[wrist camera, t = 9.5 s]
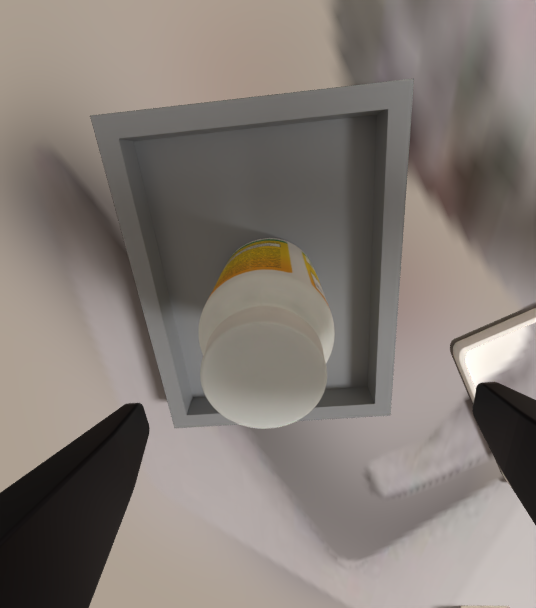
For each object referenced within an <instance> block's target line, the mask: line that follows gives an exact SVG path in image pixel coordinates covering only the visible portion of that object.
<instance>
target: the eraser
mask: <svg viewBox="0 0 536 608" xmlns="http://www.w3.org/2000/svg"><path fill="white" fill-rule="evenodd" d="M460 608H510V607H509V606H461V607H460Z"/></svg>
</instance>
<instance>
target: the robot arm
mask: <svg viewBox="0 0 536 608" xmlns="http://www.w3.org/2000/svg"><path fill="white" fill-rule="evenodd" d="M473 415H474V417H475V420H476V422H477V423H478V425H479V427H480V429H481V431H482V433H483V435H484V437H485V439H486V441H487V443H488V445H489V447H490V449H491V451H492V453H493V455H494V457H495V459H496V461H497V463H498V465H499V467H500V469H501V470H502V472H503V474H504V476H505V477H506V479H507V481H508V482H509V484H510V486H511V487H512V489H513V490H514V492H515V493H516V495H517V497H518V498H519V500H520V501H521V503H522V504H523V506H524V508H525V509H526V511H527V512H528V514H529V516H530V517H531V519H532V520H533V522H534V523H535V525H536V400H534V399H532V398H530V397H528V396H526V395H523V394H521V393H519V392H517V391H515V390H513V389H510V388H508V387H506V386H504V385H502V384H500V383H497V382H486V383H480V384H478V386H477V388H476V393H475V398H474V403H473ZM148 436H149V424H148V421H147V417H146V414H145V411H144V408H143V406H142V404H140V403H129V404H125V405H123V406H122V407H121V408H119V409H118V410H116V411H115V412H114V413H112V414H111V415H109V416H108V417H107V418H105V419H104V420H102V421H101V422H99V423H98V424H97V425H95V426H94V427H92V428H91V429H90V430H88V431H87V432H85V433H84V434H83V435H81V436H80V437H78V438H77V439H76V440H74V441H73V442H71V443H70V444H69V445H67V446H66V447H64V448H63V449H61V450H60V451H59V452H57V453H56V454H55V455H53V456H52V457H50V458H49V459H47V460H46V461H45V462H43V463H42V464H40V465H39V466H37V467H36V468H35V469H34V470H32V471H30V472H29V473H28V474H26V475H25V476H23V477H22V478H21V479H19V480H18V481H16V482H15V483H13V484H12V485H11V486H9V487H8V488H6V489H5V490H4V491H2V492H1V493H0V608H89V605H90V603H91V600H92V597H93V595H94V592H95V590H96V587H97V585H98V582H99V579H100V577H101V574H102V571H103V569H104V566H105V564H106V561H107V558H108V556H109V553H110V551H111V548H112V545H113V543H114V540H115V537H116V535H117V532H118V530H119V527H120V524H121V522H122V519H123V517H124V514H125V511H126V509H127V506H128V503H129V501H130V498H131V495H132V493H133V490H134V487H135V483H136V480H137V476H138V473H139V469H140V465H141V462H142V458H143V454H144V450H145V447H146V443H147V439H148Z"/></svg>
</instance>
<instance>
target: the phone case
mask: <svg viewBox="0 0 536 608" xmlns="http://www.w3.org/2000/svg"><path fill="white" fill-rule="evenodd" d="M535 322H536V308H534V309H532V310H529V311H527V312H525V313H522V311H521V310H519V311H517V312H515V313H512V314H510V315H508V316H506V317H503V318H501V319H499V320H496V321H494V322H492V323H489V324H487V325H485V326H483V327H480V328H478V329H476V330H473V331H471V332H469V333H466V334H464V335H462V336H460V337H457V338H455V339H453V340H452V341H451V343H450V352H451V355H452V358H453V360H454V362H455V364H456V367H457V370H458V372H459V374H460V377H461V379H462V381H463V384H464V386H465V388H466V391H467V393H468V395H470V397H471V399H472V402H473V403H474V398H475V393H476V388H477V386H478V384H480V383H485V382H486V381H487V380H488V379H489V378H490V377H492V376H493V375H495V374H496V373H498V372H500V371H501V370H503V369H504V368H505V367H506V366H507V365H508V364H509V363H510V362H511V361H512V360H513V359H514V358H515V357H516V356H517V355H518V353H519V351H520V350H521V348H522V347H523V346H524V343H525V339H526V336H527V334H528V327H527V326H528V325H530V324H533V323H535ZM493 456H494V455H493ZM494 458H495V457H494ZM495 460H496V459H495ZM496 463H497V461H496ZM497 465H498V463H497ZM498 467H499V465H498ZM499 470H500V472H501V474H502V475H503V476H504V474H503V472H502V470H501V469H500V467H499ZM504 478H505V479H506V477H505V476H504ZM506 481H507V479H506ZM507 482H508V481H507ZM508 484H509V482H508ZM509 485H510V484H509ZM511 488H512V487H511Z"/></svg>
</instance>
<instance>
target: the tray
mask: <svg viewBox="0 0 536 608" xmlns="http://www.w3.org/2000/svg"><path fill="white" fill-rule="evenodd" d="M413 85H414V79H406V80H397V81H388V82H380V83H371V84H362V85H354V86H345V87H336V88H327V89H319V90H310V91H301V92H293V93H284V94H275V95H267V96H258V97H249V98H241V99H232V100H223V101H214V102H206V103H197V104H188V105H179V106H171V107H162V108H153V109H144V110H136V111H127V112H118V113H111V114H102V115H92V116H90V117H91V121H92V125H93V128H94V132H95V136H96V140H97V143H98V147H99V151H100V154H101V158H102V162H103V165H104V169H105V172H106V176H107V180H108V183H109V188H110V191H111V195H112V198H113V202H114V206H115V210H116V213H117V217H118V221H119V224H120V228H121V232H122V236H123V239H124V243H125V247H126V250H127V254H128V258H129V261H130V265H131V269H132V273H133V276H134V280H135V284H136V287H137V291H138V295H139V298H140V302H141V306H142V309H143V313H144V317H145V321H146V324H147V328H148V332H149V335H150V339H151V343H152V346H153V350H154V354H155V358H156V361H157V365H158V369H159V372H160V376H161V380H162V383H163V387H164V391H165V394H166V398H167V402H168V406H169V409H170V413H171V417H172V420H173V424H174V428H187V427H204V426H221V425H238V424H237V423H235V422H233V421H231V420H229V419H227V418H225V417H224V416H223V415H221V414H220V413H219V412H218V411H217V410H216V409H214V408H213V406H212V405H211V404H210V402H209V401H208V399H207V398H206V396H205V394H204V391H203V388H202V385H201V377H200V371H201V362H202V359H203V354H202V351H201V347H200V343H199V332H198V331H199V322H200V317H201V314H202V311H203V309H204V306H205V304H206V302H207V300H208V298H209V296H210V295H211V293H212V291H213V289H214V287H215V285H216V283H217V281H218V279H219V277H220V275H221V273H222V271H223V269H224V268H225V266H226V264H227V262H228V260H229V259H230V258H231V256H232V255H233V254H234V253H235V252H236V251H237V250H238V249H239V248H240V247H242V246H243V245H245V244H247V243H249V242H252V241H255V240H258V239H265V238H277V239H282V240H285V241H288V242H290V243H292V244H294V245H296V246H297V247H298V248H300V249H301V250H302V251H303V252H304V253H305V254H306V255H307V257H308V258H309V259H310V261H311V263H312V265H313V267H314V269H315V272H316V274H317V277H318V279H319V282H320V285H321V287H322V290H323V293H324V295H325V298H326V300H327V303H328V306H329V308H330V311H331V314H332V317H333V322H334V332H335V336H334V344H333V348H332V352H331V354H330V357H329V359H328V361H327V363H326V368H327V382H326V387H325V391H324V393H323V395H322V397H321V399H320V401H319V403H318V404H317V405H316V406H315V407H314V408H313V409H312V410H311V411H310V412H309V413H308V414H307V415H305V416H304V417H303V418H301V419H299V420H298V421H304V420H322V419H339V418H355V417H372V416H389V415H390V414H391V400H392V385H393V372H394V357H395V342H396V327H397V314H398V299H399V286H400V271H401V256H402V243H403V227H404V214H405V198H406V185H407V171H408V156H409V142H410V128H411V113H412V99H413Z"/></svg>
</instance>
